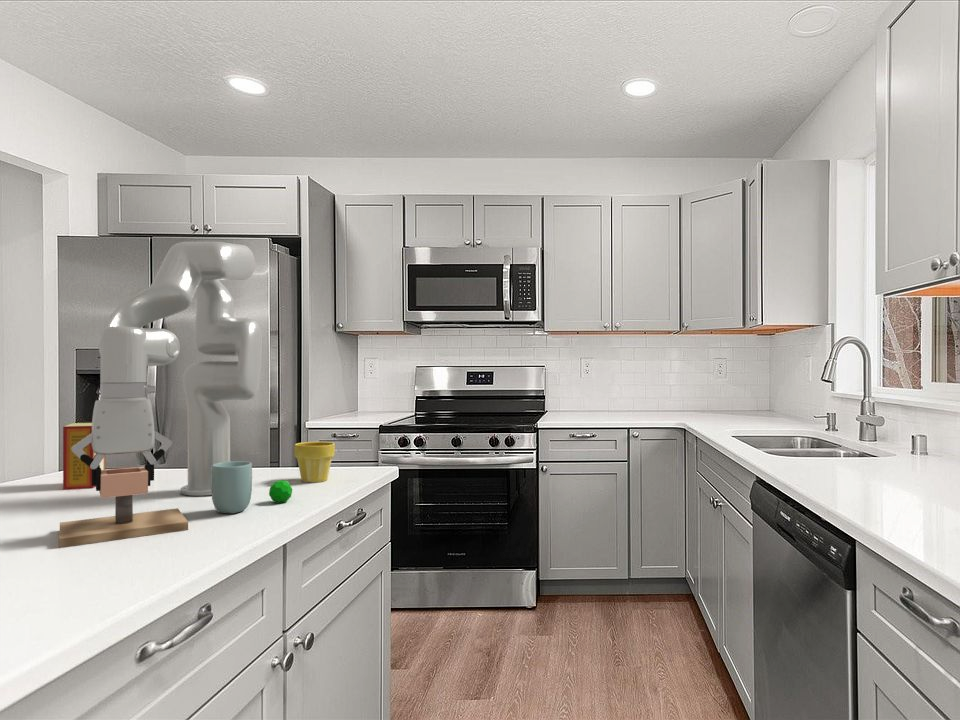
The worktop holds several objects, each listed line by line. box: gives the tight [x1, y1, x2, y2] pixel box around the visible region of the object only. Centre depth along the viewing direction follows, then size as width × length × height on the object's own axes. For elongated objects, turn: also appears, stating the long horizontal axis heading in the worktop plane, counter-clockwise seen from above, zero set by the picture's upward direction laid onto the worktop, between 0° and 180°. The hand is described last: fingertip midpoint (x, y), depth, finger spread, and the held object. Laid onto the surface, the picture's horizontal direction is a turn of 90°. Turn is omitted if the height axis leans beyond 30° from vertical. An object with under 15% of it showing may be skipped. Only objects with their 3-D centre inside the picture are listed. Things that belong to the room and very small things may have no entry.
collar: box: [98, 466, 149, 499], centre depth 116 cm, size 7×7×4 cm
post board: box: [58, 495, 189, 548], centre depth 116 cm, size 20×13×8 cm, turn 124°
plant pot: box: [293, 441, 336, 483], centre depth 165 cm, size 10×10×10 cm
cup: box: [211, 460, 253, 515], centre depth 130 cm, size 8×8×10 cm
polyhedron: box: [268, 479, 293, 504], centre depth 139 cm, size 5×5×5 cm
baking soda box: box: [62, 422, 106, 491], centre depth 159 cm, size 10×6×16 cm
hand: (123, 486), depth 116 cm, fingers closed on collar, 7 cm apart
